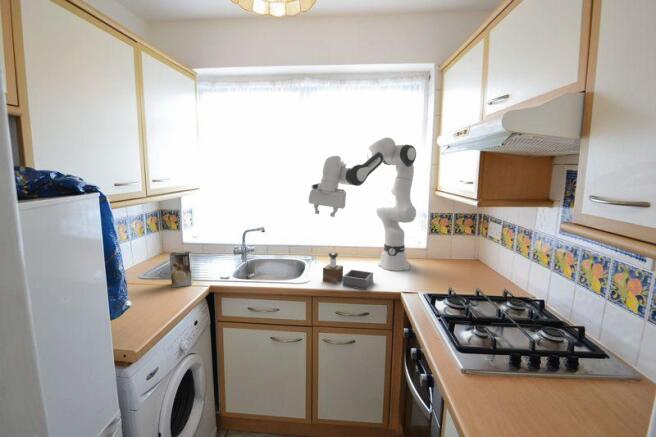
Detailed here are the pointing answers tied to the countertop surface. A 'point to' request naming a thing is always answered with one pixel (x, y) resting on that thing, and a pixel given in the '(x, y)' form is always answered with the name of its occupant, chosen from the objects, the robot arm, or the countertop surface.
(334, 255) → the steel pin
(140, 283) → the countertop surface
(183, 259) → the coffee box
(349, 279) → the charcoal tray
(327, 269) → the walnut hitch block
